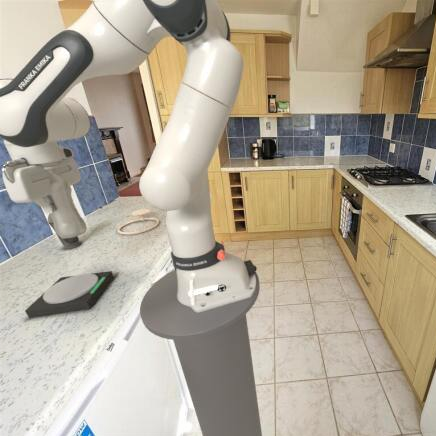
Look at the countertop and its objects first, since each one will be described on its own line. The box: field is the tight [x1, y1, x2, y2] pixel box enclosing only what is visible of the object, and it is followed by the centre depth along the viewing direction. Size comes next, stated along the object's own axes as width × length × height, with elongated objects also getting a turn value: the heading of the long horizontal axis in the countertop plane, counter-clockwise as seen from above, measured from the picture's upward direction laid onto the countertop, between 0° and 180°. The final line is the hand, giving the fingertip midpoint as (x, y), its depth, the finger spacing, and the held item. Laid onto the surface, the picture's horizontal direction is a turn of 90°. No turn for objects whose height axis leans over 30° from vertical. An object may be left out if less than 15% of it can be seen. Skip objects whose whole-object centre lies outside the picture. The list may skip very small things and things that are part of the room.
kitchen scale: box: [24, 270, 115, 319], centre depth 69 cm, size 14×14×3 cm
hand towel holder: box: [117, 208, 160, 236], centre depth 113 cm, size 17×4×21 cm
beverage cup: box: [47, 213, 81, 250], centre depth 93 cm, size 7×7×20 cm
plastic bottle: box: [47, 169, 88, 238], centre depth 64 cm, size 6×7×20 cm
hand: (60, 207), depth 65 cm, fingers closed on plastic bottle, 5 cm apart
